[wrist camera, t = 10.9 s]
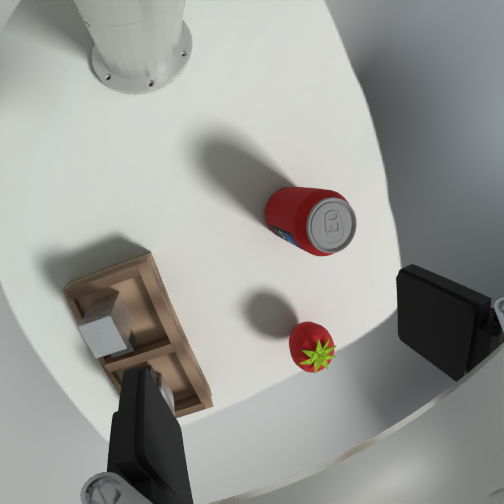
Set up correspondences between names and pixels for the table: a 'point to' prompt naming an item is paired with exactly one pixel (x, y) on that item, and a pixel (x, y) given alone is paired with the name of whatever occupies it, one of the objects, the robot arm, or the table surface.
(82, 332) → the grey block
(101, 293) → the wooden divided tray
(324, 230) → the beverage can
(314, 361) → the strawberry
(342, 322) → the table surface
